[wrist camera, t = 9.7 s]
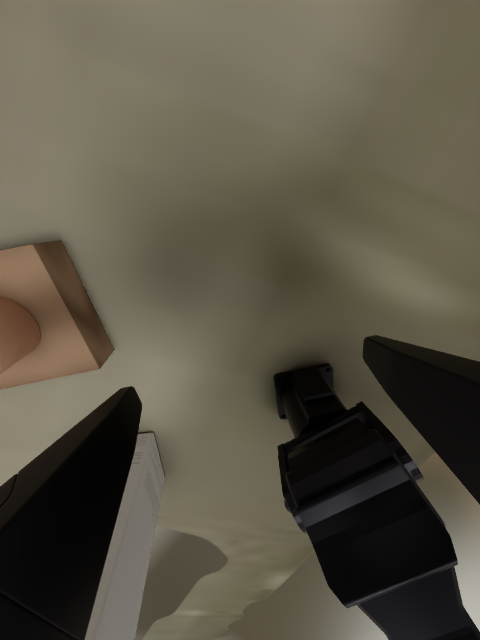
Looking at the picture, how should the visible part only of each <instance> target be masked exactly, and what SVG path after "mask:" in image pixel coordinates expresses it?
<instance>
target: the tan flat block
mask: <svg viewBox="0 0 480 640" xmlns="http://www.w3.org/2000/svg"><path fill="white" fill-rule="evenodd" d="M0 297H4V298H7V299H9V300H12V301H14V302H15V303H17V304H19V305H20V306H22V307H23V308H24V309H26V310H27V311H28V312H29V313H30V314H31V315H32V316H33V318H34V319H35V321H36V322H37V324H38V326H39V329H40V337H41V338H40V342H39V345H38V346H37V348H36V349H35V350H34V351H32V352H31V353H30V354H28V355H27V356H25V357H24V358H23V359H21V360H20V361H18V362H17V363H16V364H14V365H13V366H11V367H10V368H9V369H7V370H6V371H4V372H3V373H2V374H0V389H5V388H10V387H15V386H19V385H24V384H29V383H34V382H39V381H44V380H49V379H53V378H58V377H63V376H68V375H73V374H78V373H82V372H87V371H92V370H97V369H100V368H101V367H102V365H103V364H104V363H105V361H106V360H107V359H108V357H109V356H110V355H111V353H112V352H113V351H114V348H113V346H112V344H111V342H110V340H109V338H108V336H107V334H106V332H105V330H104V328H103V326H102V324H101V322H100V319H99V317H98V315H97V313H96V311H95V309H94V307H93V305H92V303H91V301H90V299H89V297H88V295H87V293H86V291H85V288H84V286H83V284H82V282H81V280H80V278H79V276H78V274H77V272H76V270H75V268H74V266H73V264H72V262H71V260H70V257H69V255H68V253H67V251H66V249H65V247H64V245H63V243H62V241H54V242H46V243H39V244H32V245H26V246H21V247H16V248H10V249H5V250H0Z"/></svg>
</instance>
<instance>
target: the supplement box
mask: <svg viewBox="0 0 480 640" xmlns="http://www.w3.org/2000/svg"><path fill="white" fill-rule="evenodd" d="M164 478H165V477H164V473H163V469H162V465H161V461H160V457H159V453H158V449H157V445H156V441H155V437H154V433H144V434H138V437H137V443H136V448H135V452H134V456H133V460H132V464H131V468H130V471H129V475H128V479H127V483H126V486H125V490H124V494H123V498H122V501H121V505H120V509H119V513H118V516H117V520H116V524H115V528H114V531H113V535H112V539H111V543H110V547H109V550H108V554H107V558H106V562H105V565H104V569H103V573H102V577H101V580H100V584H99V588H98V592H97V595H96V599H95V603H94V607H93V610H92V614H91V618H90V622H89V625H88V629H87V633H86V637H85V640H135V634H136V629H137V624H138V618H139V613H140V607H141V602H142V596H143V591H144V586H145V580H146V575H147V570H148V564H149V558H150V554H151V548H152V542H153V537H154V532H155V526H156V521H157V516H158V510H159V505H160V500H161V494H162V489H163V484H164Z"/></svg>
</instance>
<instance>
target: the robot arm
mask: <svg viewBox="0 0 480 640" xmlns="http://www.w3.org/2000/svg"><path fill="white" fill-rule="evenodd" d="M363 359H364V361H365V363H366V364H367V366H368V367H369V369H370V370H371V371H372V373H373V374H374V376H375V377H376V379H377V380H378V382H379V383H380V385H381V386H382V388H383V389H384V390H385V392H386V393H387V394H388V396H389V397H390V398H391V399H392V401H393V402H394V403H395V404H396V405H397V407H398V408H399V409H400V410H401V411H402V412H403V414H404V415H405V416H406V417H407V418H408V420H409V421H410V422H411V423H412V424H413V426H414V427H415V428H416V429H417V430H418V432H419V433H420V434H421V435H422V436H423V437H424V439H425V440H426V441H427V442H428V443H429V445H430V446H431V447H432V448H433V449H434V451H435V452H436V453H437V454H438V455H439V456H440V458H441V459H442V460H443V461H444V462H445V464H446V465H447V466H448V467H449V468H450V470H451V471H452V472H453V473H454V474H455V476H456V477H457V478H458V479H459V480H460V481H461V482H462V484H463V485H464V486H465V487H466V489H467V490H468V491H469V492H470V493H471V495H472V496H473V497H474V498H475V499H476V500H477V502H478V503H479V504H480V362H479V361H475V360H471V359H467V358H463V357H459V356H455V355H451V354H448V353H444V352H440V351H436V350H432V349H428V348H424V347H420V346H416V345H413V344H409V343H405V342H401V341H397V340H393V339H389V338H385V337H381V336H377V335H374V336H369V337H366V338H365V339H364V344H363ZM327 368H328V369H327ZM278 378H280V379H279V380H277V379H278ZM274 384H275V392H276V399H277V407H278V414H279V417H280V419H288V421H289V424H290V427H291V429H292V432H293V434H294V437H295V438H294V439H293V440H291V441H289V442H287V443H285V444H281V445H279V446H278V454H279V455H278V459H279V467H280V475H281V484H282V492H283V496H284V498H285V499H284V503H285V507H286V509H287V510H288V511H289V512H290V513H292V515H293V517H294V519H295V521H296V523H297V524H298V526H299V527H300V529H301V530H302V531H303V532H304V533H306V534H307V533H308V535H309V537H310V540H311V542H312V544H313V547H314V549H315V552H316V555H317V557H318V560H319V563H320V565H321V568H322V571H323V573H324V576H325V579H326V581H327V584H328V586H329V587H330V589H331V590H332V591H333V593H334V594H335V595H336V596H337V597H338V599H339V600H340V601H341V603H342V604H343V605H344V606H345V607H346V608H350V607H352V606H354V605H357V606H358V607H359V608H360V609H361V610H362V611H363V612H364V613H365V614H366V615H367V616H368V617H369V618H370V619H371V620H372V621H373V622H374V623H375V624H376V625H377V626H378V627H379V628H380V629H381V630H382V631H383V632H384V633H385V635H386V636H387V638H388V639H389V640H480V632H479V630H478V628H477V627H476V625H475V624H474V622H473V621H472V619H471V618H470V616H469V615H468V613H467V612H466V610H465V608H464V607H463V604H462V599H461V595H460V590H459V586H458V581H457V577H456V572H455V568H454V566H455V565H457V564H458V562H457V557H456V554H455V550H454V547H453V544H452V540H451V537H450V535H449V533H448V532H447V530H446V528H445V524H444V522H443V521H442V519H441V517H440V516H439V514H438V513H437V512H436V510H435V509H434V507H433V506H432V505H431V503H430V502H429V500H428V499H427V498H426V496H425V495H424V493H423V492H422V491H421V489H420V488H419V487H418V485H417V484H416V483H418V482H420V481H422V480H424V477H423V475H422V474H421V472H420V470H419V469H418V467H417V466H416V464H415V463H414V461H413V460H412V459H411V457H410V456H409V454H408V453H407V452H406V450H405V449H404V448H403V446H402V445H401V444H400V443H399V441H398V440H397V439H396V438H395V436H394V435H393V434H392V433H391V432H390V431H389V430H388V429H387V427H386V426H385V425H384V424H383V423H382V422H381V421H380V420H379V419H378V418H377V417H376V416H375V415H374V414H373V413H372V412H371V411H370V409H369V408H368V407H367V406H366V405H365V404H364V403H363V402H362V401H361V402H360V403H358V404H356V406H355V407H353V408H351V409H349V410H347V409H346V407H345V406H344V405H343V403H342V402H341V400H340V399H339V398H338V396H337V395H336V393H335V392H334V391H333V368H332V366H331V365H330V364H324V365H319V366H314V367H309V368H305V369H300V370H295V371H290V372H286V373H281V374H277V375H275V376H274ZM141 411H142V403H141V401H140V398H139V396H138V394H137V392H136V390H135V388H134V387H132V386H130V387H125V388H121V389H120V390H118V391H117V392H116V393H115V394H113V395H112V396H111V397H110V398H108V399H107V400H106V401H105V402H104V403H102V404H101V405H100V406H99V407H97V408H96V409H95V410H94V411H93V412H91V413H90V414H89V415H88V416H86V417H85V418H84V419H83V420H81V421H80V422H79V423H78V424H77V425H75V426H74V427H73V428H72V429H70V430H69V431H68V432H67V433H66V434H64V435H63V436H62V437H61V438H59V439H58V440H57V441H56V442H54V443H53V444H52V445H51V446H50V447H48V448H47V449H46V450H45V451H43V452H42V453H41V454H40V455H39V456H37V457H36V458H35V459H34V460H32V461H31V462H30V463H29V464H27V465H26V466H25V467H24V468H23V469H21V470H20V471H19V472H18V474H15V475H14V476H13V477H11V478H10V479H9V480H8V481H7V482H5V483H4V484H3V485H2V486H0V640H85V637H86V633H87V629H88V625H89V622H90V618H91V614H92V610H93V607H94V603H95V599H96V595H97V592H98V588H99V584H100V580H101V577H102V573H103V569H104V565H105V562H106V558H107V554H108V550H109V547H110V543H111V539H112V535H113V531H114V528H115V524H116V520H117V516H118V513H119V509H120V505H121V501H122V498H123V494H124V490H125V486H126V483H127V479H128V475H129V471H130V468H131V464H132V460H133V456H134V452H135V448H136V443H137V437H138V430H139V424H140V417H141Z"/></svg>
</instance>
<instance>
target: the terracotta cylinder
mask: <svg viewBox="0 0 480 640" xmlns="http://www.w3.org/2000/svg"><path fill="white" fill-rule="evenodd" d="M40 338H41V337H40V329H39V326H38V324H37V322H36V321H35V319H34V318H33V316H32V315H31V314H30V313H29V312H28V311H27V310H26V309H24V308H23V307H22V306H20V305H19V304H17V303H15V302H14V301H12V300H9V299H7V298H4V297H0V374H2V373H3V372H4V371H6V370H7V369H9V368H10V367H11V366H13V365H14V364H16V363H17V362H18V361H20V360H21V359H23V358H24V357H25V356H27V355H28V354H30V353H31V352H32V351H34V350H35V349H36V348H37V346H38V345H39V342H40Z"/></svg>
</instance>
